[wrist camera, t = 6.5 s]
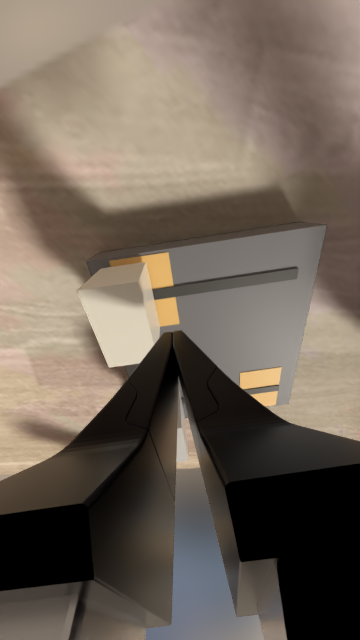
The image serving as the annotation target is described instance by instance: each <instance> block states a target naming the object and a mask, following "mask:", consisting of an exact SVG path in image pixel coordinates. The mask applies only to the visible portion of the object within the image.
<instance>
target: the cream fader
mask: <svg viewBox="0 0 360 640" xmlns="http://www.w3.org/2000/svg"><path fill="white" fill-rule="evenodd" d="M77 293H78V295H79V298H80V300H81V302H82V305H83V307H84V310H85V312H86V314H87V317H88V319H89V321H90V324H91V326H92V329H93V331H94V333H95V336H96V338H97V340H98V343H99V345H100V348H101V350H102V352H103V355H104V357H105V359H106V362H107V364H108V367H109V368H110V367H117V366H124V365H132V364H139V363H140V362H141V361H142V360H143V358H144V357H145V356H146V355H147V353H148V352H149V351H150V349H151V348H152V347H153V346H154V344H155V343H156V342H157V340H158V339H159V336H160V324H159V319H158V314H157V310H156V305H155V301H154V296H153V291H152V287H151V282H150V278H149V273H148V268H147V264H146V262H141V263H134V264H128V265H121V266H114V267H108V268H101V269H100V270H99V271H98V272H97V273H95V274H94V275H93V276H92V277H91V278H90V279H89V280H88V281H87V282H85V283H84V284H83V285H82V286H81V287H80V288H79V289H78V290H77Z"/></svg>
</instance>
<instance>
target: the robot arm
mask: <svg viewBox="0 0 360 640" xmlns="http://www.w3.org/2000/svg"><path fill="white" fill-rule="evenodd" d="M127 380H128V381H126V382H125V383H124V384H123V386H122V387H121V388H120V389H119V390H118V392H117V393H116V394H115V395H114V397H113V398H112V399H111V400H110V401H109V402H108V403H107V404H106V406H105V407H104V408H103V409H102V410H101V411H100V412H99V413H98V414H97V415H96V416H95V417H94V418H93V419H92V421H91V422H90V423H89V424H88V425H87V426H86V427H85V428H84V429H83V430H82V431H81V432H80V433H79V434H78V435H77V436H76V438H75V439H74V440H73V441H72V442H71V443H70V444H69V445H67V446H66V447H65V448H64V449H63V450H61V451H60V452H59V453H57V454H56V455H54V456H52V457H51V458H49V459H47V460H45V461H43V462H41V463H39V464H36V465H34V466H32V467H30V468H28V469H26V470H23V471H21V472H19V473H17V474H15V475H13V476H11V477H8V478H6V479H4V480H2V481H0V640H145V631H146V628H153V627H161V626H169V625H171V620H172V619H171V618H172V586H173V556H174V555H173V554H174V521H175V488H176V487H175V486H176V456H177V423H178V390H179V381H180V385H181V389H182V393H183V398H184V402H185V406H186V410H187V414H188V418H189V422H190V427H191V431H192V435H193V439H194V443H195V447H196V451H197V455H198V460H199V464H200V468H201V472H202V476H203V480H204V484H205V488H206V493H207V496H208V501H209V504H210V509H211V513H212V517H213V522H214V526H215V530H216V533H217V538H218V542H219V546H220V550H221V555H222V559H223V563H224V567H225V571H226V575H227V579H228V583H229V587H230V591H231V595H232V599H233V604H234V608H235V612H236V616H237V617H242V616H250V615H259V619H260V623H261V628H262V632H263V637H264V640H360V441H357V440H353V439H349V438H345V437H341V436H337V435H333V434H329V433H325V432H321V431H317V430H313V429H310V428H306V427H302V426H298V425H294V424H292V423H289V422H287V421H285V420H283V419H282V418H280V417H279V416H277V415H276V414H274V413H273V412H271V411H270V410H269V409H268V408H266V407H265V406H264V405H262V404H261V403H260V402H259V401H257V400H256V399H255V398H253V397H252V396H251V395H250V394H248V393H247V392H246V391H244V390H243V389H242V388H241V387H239V386H238V385H237V384H236V383H235V382H233V381H232V380H231V379H230V378H229V377H228V376H227V375H226V374H225V373H224V372H223V371H222V370H221V369H220V368H219V367H218V366H217V365H216V364H215V363H214V362H213V361H212V360H211V359H210V358H209V357H208V356H207V355H206V354H205V353H204V352H203V351H202V350H201V349H200V348H199V347H198V346H197V345H196V344H195V343H194V342H193V341H192V340H191V339H190V338H189V337H188V336H187V335H186V334H185V333H184V332H183V331H182V330H178V331H173V332H164V333H163V334H162V335H161V337H160V338H159V339H158V340H157V342H156V343H155V344H154V346H153V347H152V348H151V349H150V351H149V352H148V353H147V355H146V356H145V357H144V358H143V360H142V361H141V362H140V364H139V365H138V366H137V368H136V369H135V370H134V371H133V373H132V374H131V375H130V377H129V378H128V379H127Z"/></svg>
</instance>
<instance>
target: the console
mask: <svg viewBox="0 0 360 640" xmlns="http://www.w3.org/2000/svg"><path fill="white" fill-rule="evenodd" d="M326 227H327V225H325V224H315V223H305V222H297V223H290V224H284V225H277V226H271V227H264V228H258V229H251V230H244V231H238V232H231V233H225V234H218V235H212V236H205V237H199V238H192V239H185V240H179V241H172V242H166V243H159V244H153V245H146V246H140V247H133V248H126V249H120V250H113V251H107V252H100V253H98V254H97V255H95V256H94V257H92V258H91V259H89V260H88V261H86V262H87V265H88V267H89V270H90V273H91V276H93V275H94V274H95V273H97V272H98V271H99V270H100V269H101V268H108V267H114V266H121V265H128V264H134V263H141V262H146V264H147V268H148V273H149V278H150V282H151V287H152V291H153V296H154V301H155V305H156V310H157V314H158V319H159V324H160V336H159V338H160V337H161V335H162V334H163V333H164V332H173V331H178V330H182V331H183V332H184V333H185V334H186V335H187V336H188V337H189V338H190V339H191V340H192V341H193V342H194V343H195V344H196V345H197V346H198V347H199V348H200V349H201V350H202V351H203V352H204V353H205V354H206V355H207V356H208V357H209V358H210V359H211V360H212V361H213V362H214V363H215V364H216V365H217V366H218V367H219V368H220V369H221V370H222V371H223V372H224V373H225V374H226V375H227V376H228V377H229V378H230V379H231V380H232V381H233V382H235V383H236V384H237V385H238V386H239V387H241V388H242V389H243V390H244V391H246V392H247V393H248V394H250V395H251V396H252V397H253V398H255V399H256V400H257V401H259V402H260V403H261V404H262V405H264V406H265V407H270V406H277V405H284V404H289V400H290V396H291V391H292V386H293V382H294V377H295V372H296V368H297V363H298V358H299V354H300V349H301V344H302V339H303V335H304V330H305V325H306V321H307V316H308V311H309V307H310V302H311V297H312V293H313V288H314V283H315V279H316V274H317V269H318V265H319V260H320V255H321V251H322V246H323V241H324V237H325V232H326ZM139 364H140V363H139ZM139 364H132V365H124V366H125V368H126V371H127V374H128V377H130V375H131V374H132V373H133V371H134V370H135V369H136V368H137V366H138V365H139ZM179 390H180V395H181V400H182V405H183V410H184V415H185V418H188V414H187V410H186V406H185V402H184V398H183V393H182V389H181V385H180V381H179Z"/></svg>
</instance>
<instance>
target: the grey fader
mask: <svg viewBox="0 0 360 640" xmlns="http://www.w3.org/2000/svg"><path fill="white" fill-rule="evenodd" d="M182 461H189V457H188V445H187V433H186V421H185V415H184V410H183V405H182V400H181V395H180V390H178V423H177V456H176V462H182Z"/></svg>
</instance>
